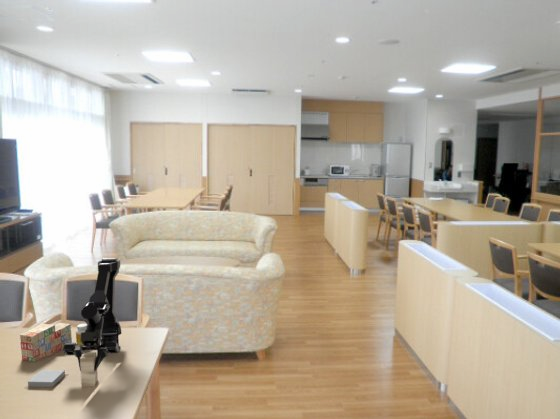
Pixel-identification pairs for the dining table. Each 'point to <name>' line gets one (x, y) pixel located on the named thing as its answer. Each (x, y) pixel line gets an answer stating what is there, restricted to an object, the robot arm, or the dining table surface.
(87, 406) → the dining table surface
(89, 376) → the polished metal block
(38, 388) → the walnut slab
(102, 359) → the robot arm
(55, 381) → the slate slab
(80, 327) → the supplement bottle
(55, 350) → the stack of blocks
